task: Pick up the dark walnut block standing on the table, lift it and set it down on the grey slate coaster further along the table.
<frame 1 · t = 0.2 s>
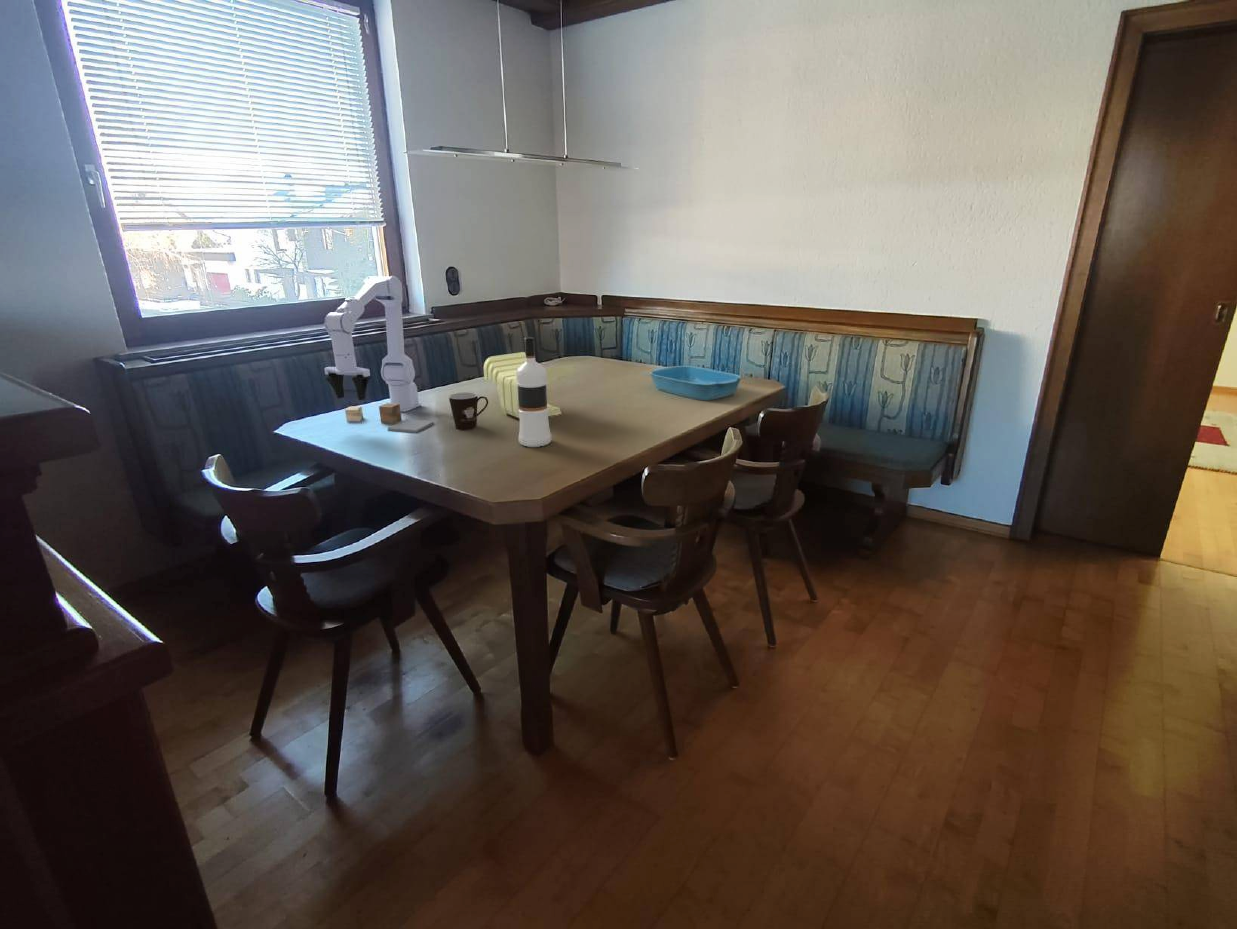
hand: (351, 398, 197), 10 cm above the table, tool pointing down, fingers open, 7 cm apart
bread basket: (530, 415, 215), on the table
walnut block: (391, 421, 209), on the table
maple block: (355, 419, 211), on the table
vodka: (535, 443, 186), on the table
coffee mug: (471, 427, 202), on the table
casserole dish: (694, 392, 243), on the table
slate coaster: (411, 427, 202), on the table
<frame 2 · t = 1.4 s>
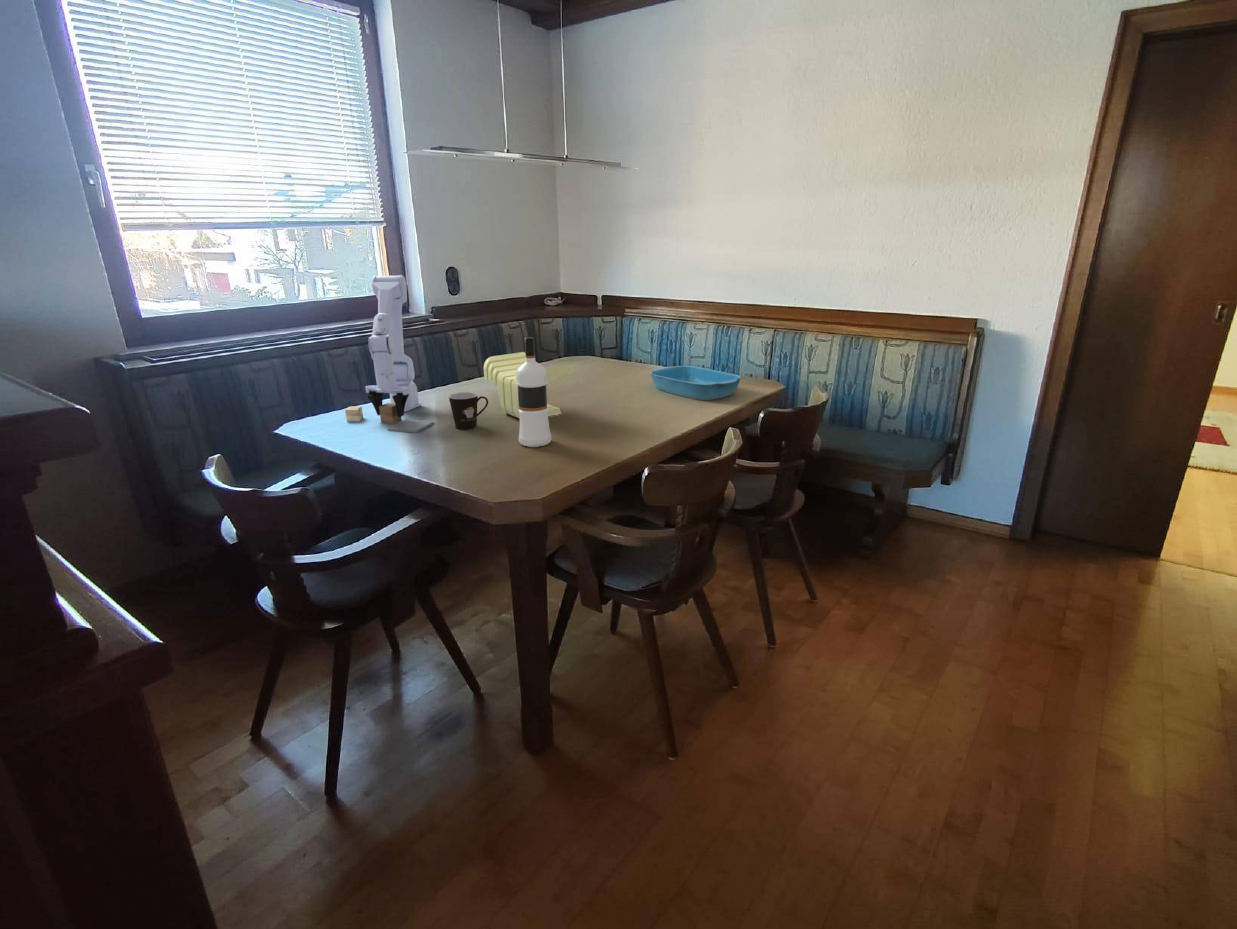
hand: (390, 415, 208), 2 cm above the table, tool pointing down, fingers open, 7 cm apart
nothing on the table moved.
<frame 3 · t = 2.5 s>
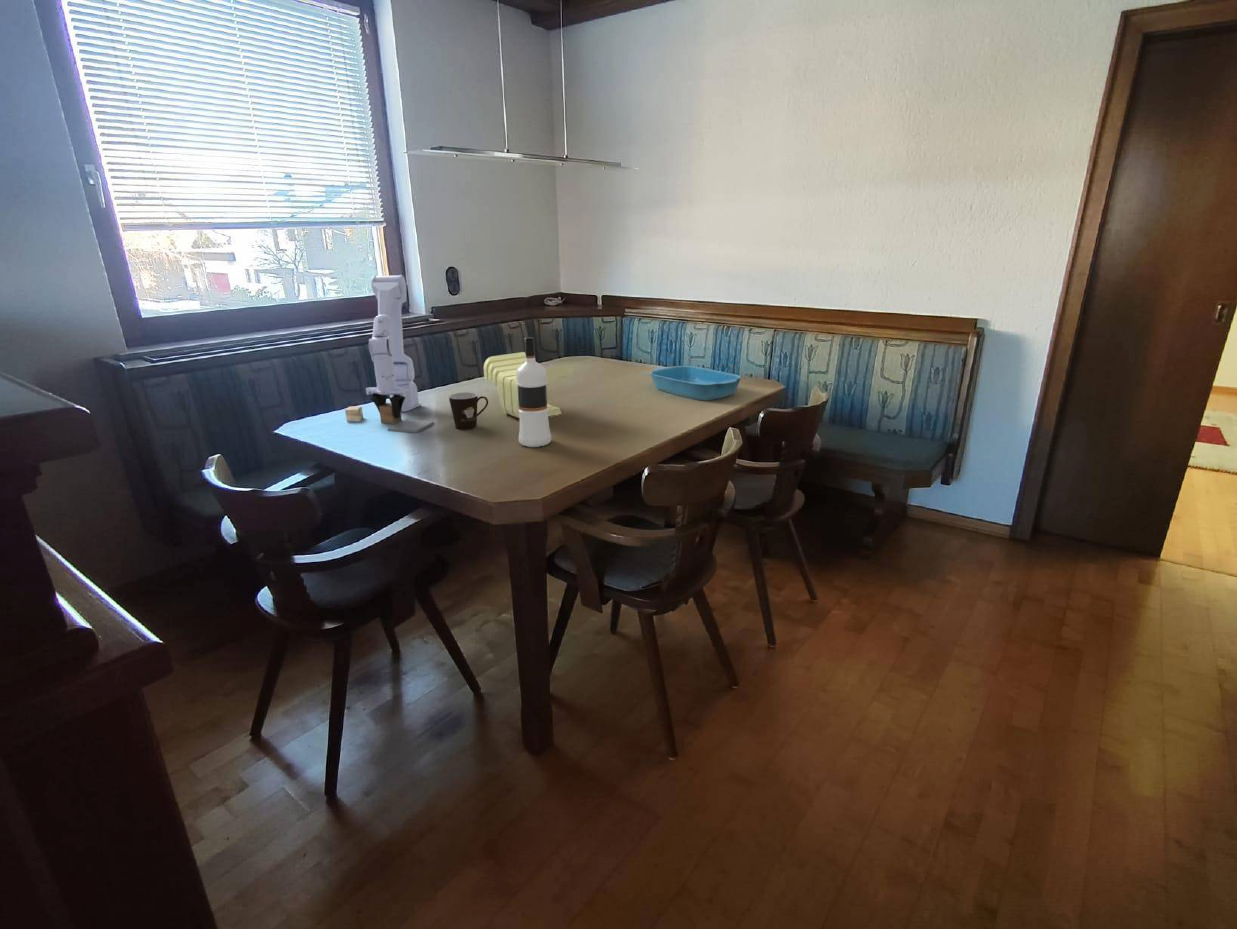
hand: (390, 417, 208), 1 cm above the table, tool pointing down, fingers closed on walnut block, 4 cm apart
walnut block: (391, 421, 208), on the table, touching gripper
everything else where it was.
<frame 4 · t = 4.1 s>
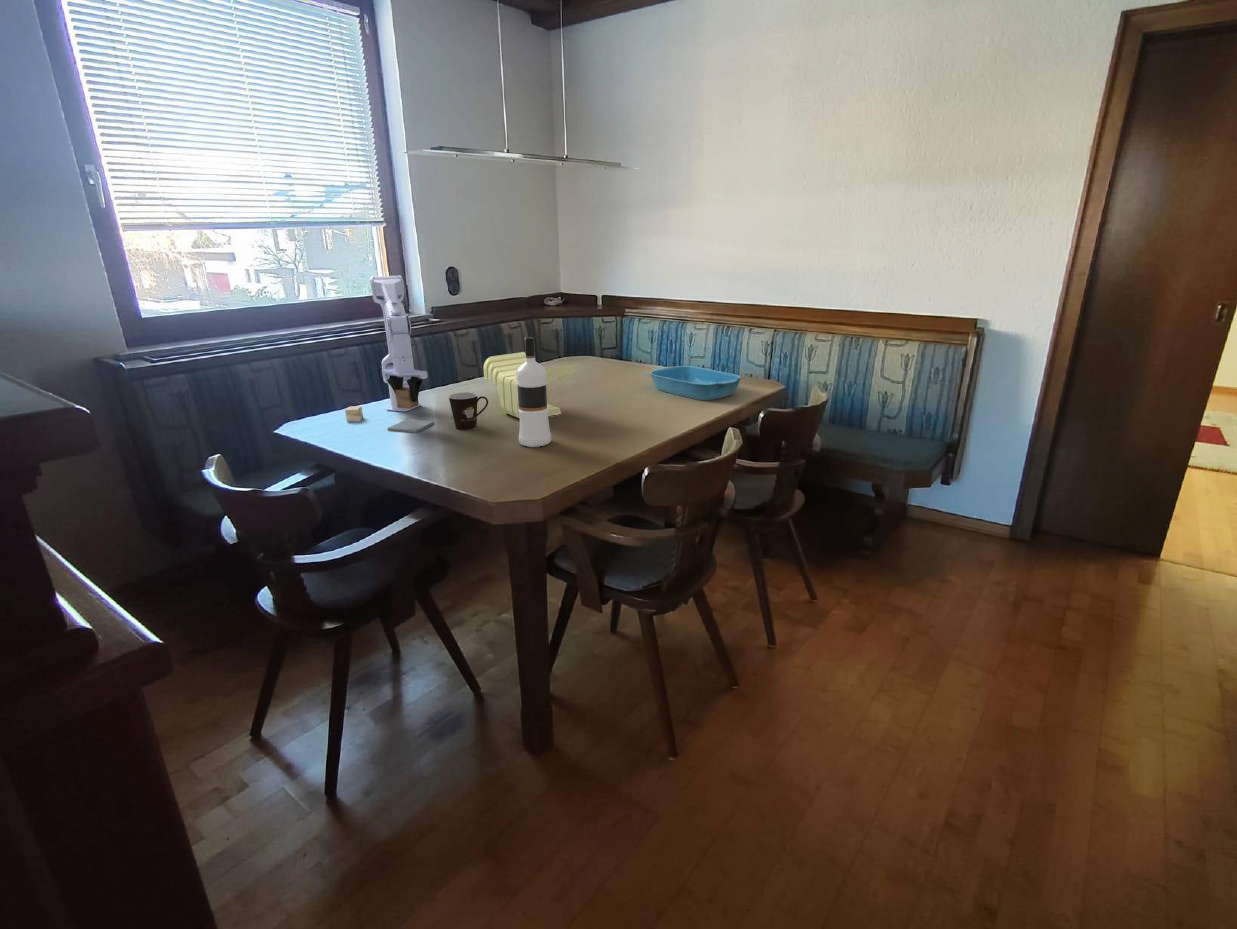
hand: (407, 400, 199), 8 cm above the table, tool pointing down, fingers closed on walnut block, 4 cm apart
walnut block: (408, 406, 200), point 7 cm above the table, touching gripper
everything else where it was.
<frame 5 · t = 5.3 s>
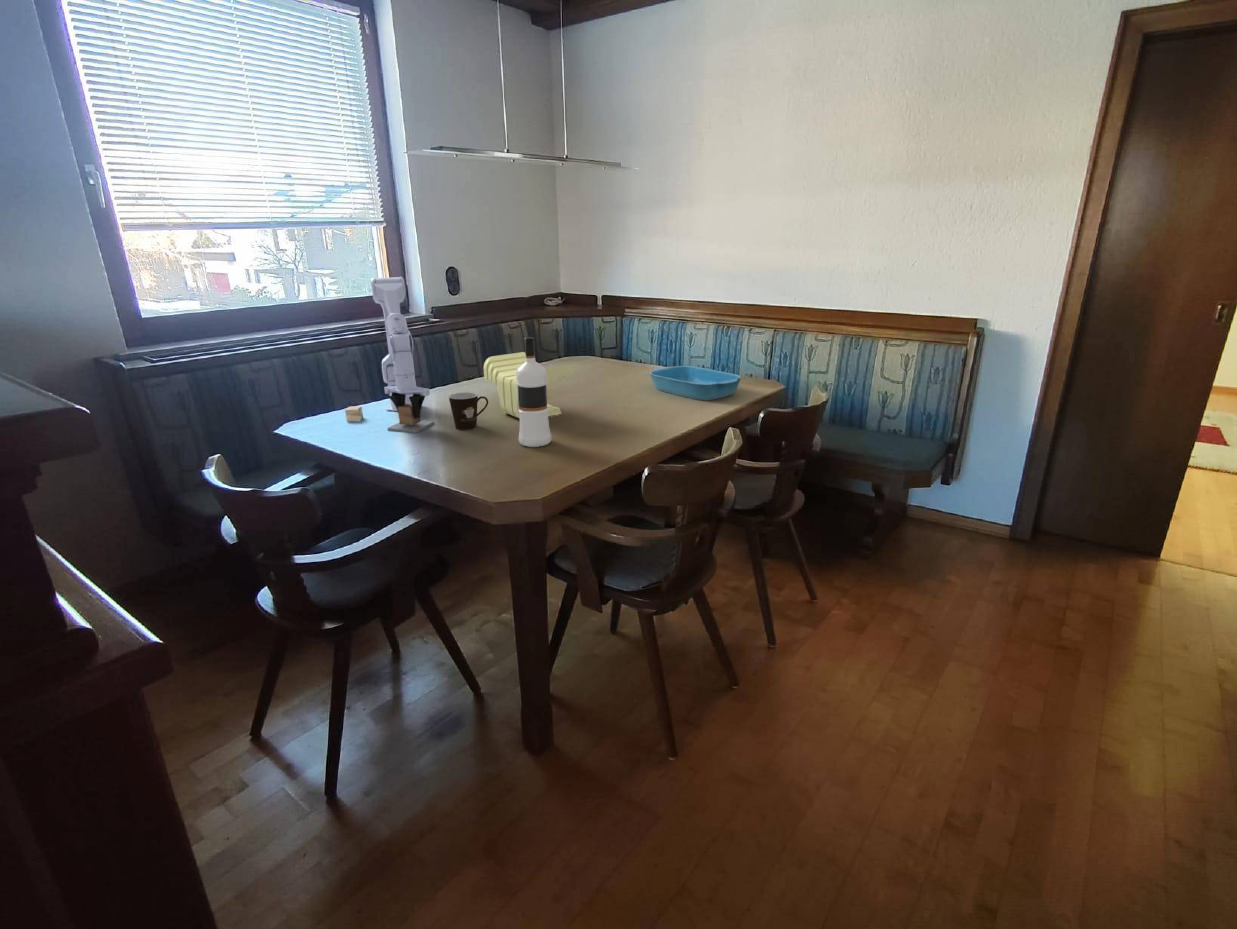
hand: (410, 417, 201), 3 cm above the table, tool pointing down, fingers closed on walnut block, 4 cm apart
walnut block: (410, 422, 201), point 1 cm above the table, touching gripper
everything else where it was.
when the fingers open (3 cm above the table, at t = 5.9 s): walnut block stays where it is, resting on slate coaster.
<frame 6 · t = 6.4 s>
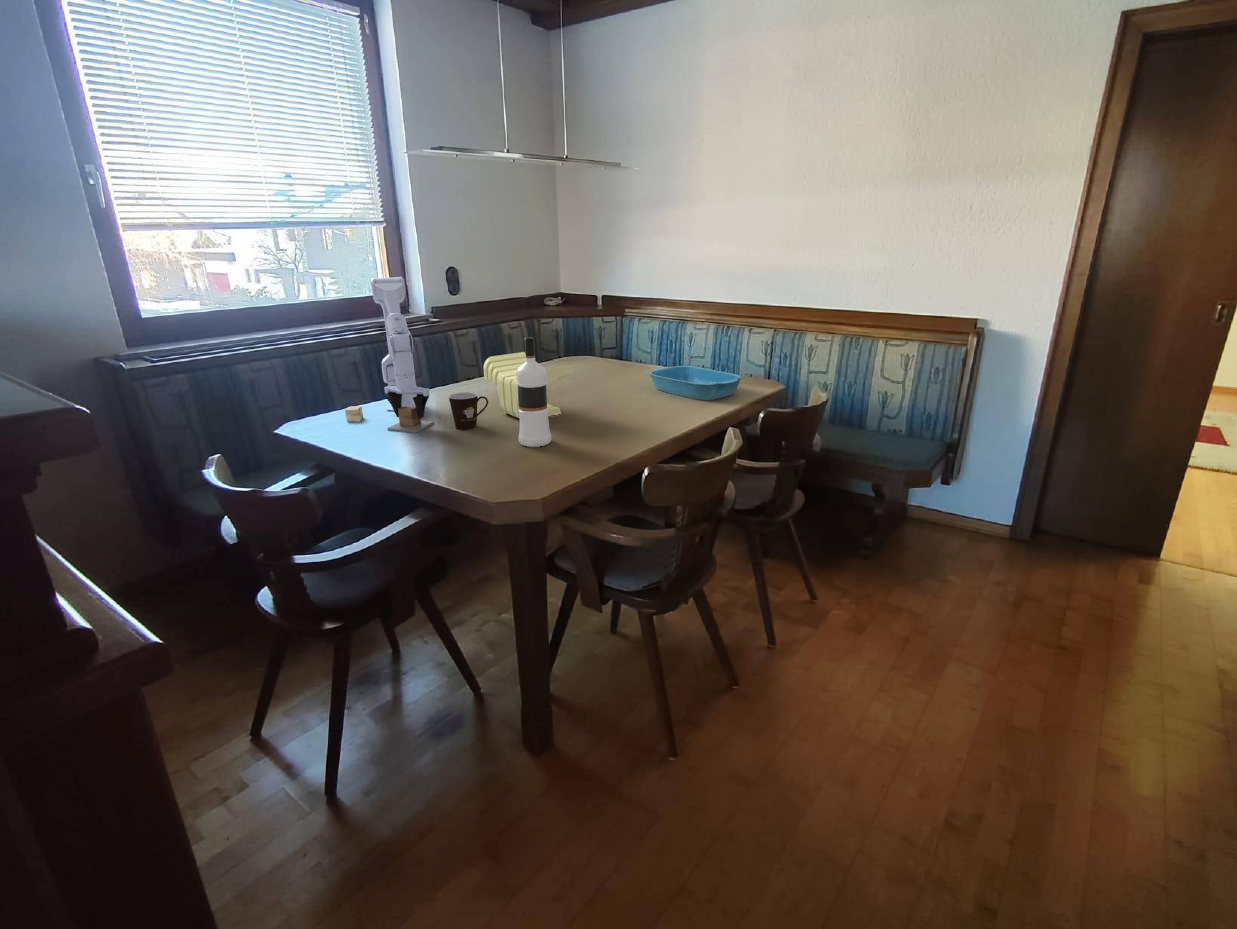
hand: (410, 417, 201), 3 cm above the table, tool pointing down, fingers open, 7 cm apart
walnut block: (410, 424, 202), point 1 cm above the table, touching slate coaster
everything else where it was.
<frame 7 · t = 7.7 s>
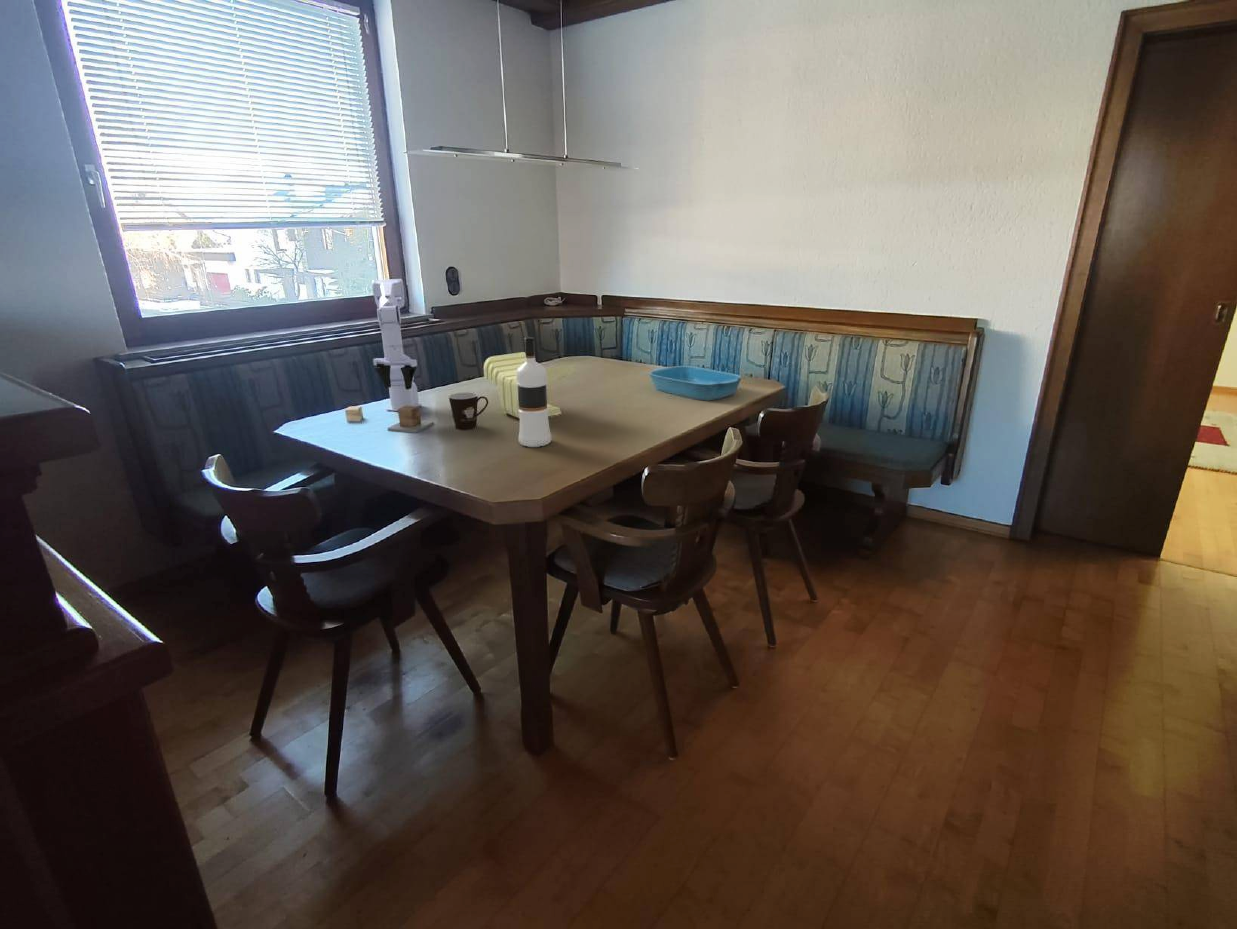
hand: (398, 388, 207), 10 cm above the table, tool pointing down, fingers open, 7 cm apart
nothing on the table moved.
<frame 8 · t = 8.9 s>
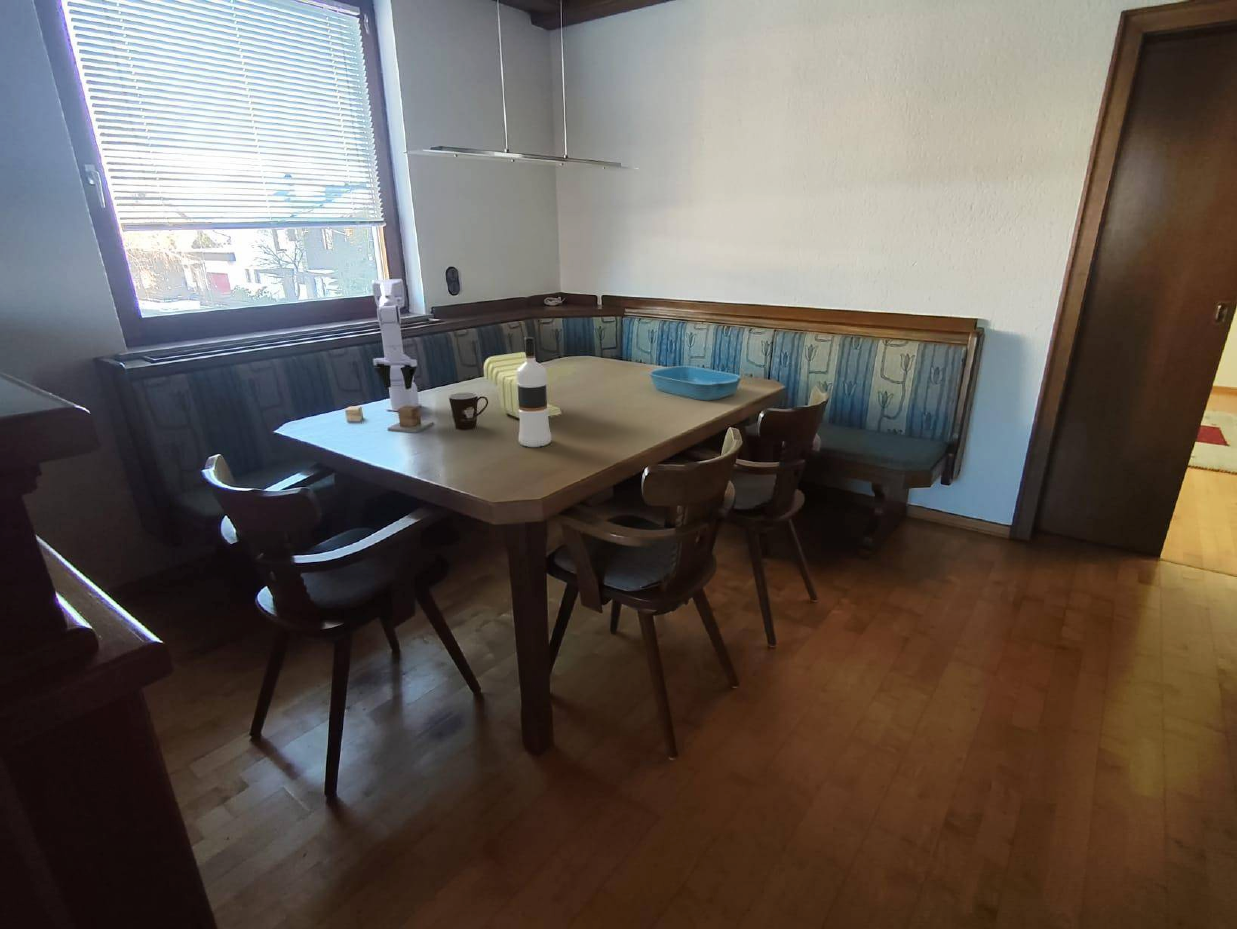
hand: (398, 388, 207), 10 cm above the table, tool pointing down, fingers open, 7 cm apart
nothing on the table moved.
at the end: walnut block inside the target area on the slate coaster (0.2 cm from its centre), point 0.8 cm above the slate coaster's base; walnut block tilted 0°; the gripper is holding nothing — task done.
